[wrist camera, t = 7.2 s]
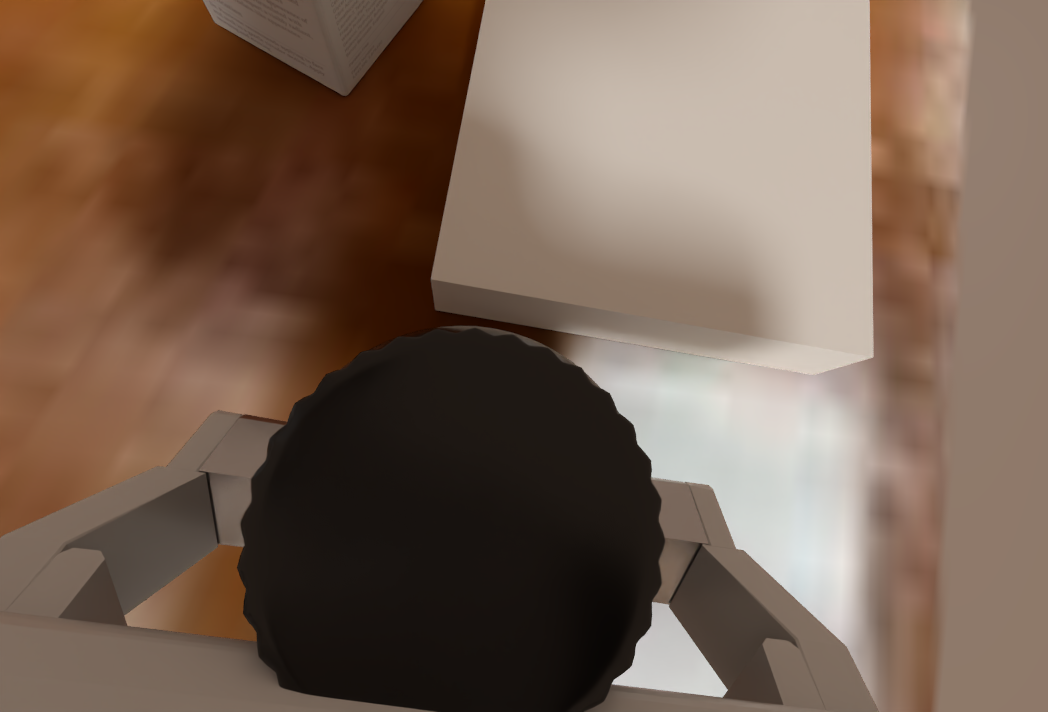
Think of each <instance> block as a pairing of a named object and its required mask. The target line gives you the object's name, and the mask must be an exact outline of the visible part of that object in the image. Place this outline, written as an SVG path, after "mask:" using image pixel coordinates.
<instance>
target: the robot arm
mask: <svg viewBox="0 0 1048 712" xmlns="http://www.w3.org/2000/svg"><path fill="white" fill-rule="evenodd" d="M286 424H287V422H286V421H280V420H274V419H269V418H263V417H257V416H252V415H246V414H245V415H242V414H237V413H232V412H226V411H220V410H218V411H216V412H213V413H212V414H210V415H209V417H208V418H207V419H206V420H205V421H204V422H203V424H202V425H201V426H200V427H199V428H198V430H197V431H196V432H195V433H194V434H193V436H192V437H191V438H190V439H189V440H188V441H187V443H186V444H185V445H184V446H183V447H182V449H181V450H180V451H179V452H178V453H177V455H176V456H175V457H174V458H173V459H172V460H171V462H170V463H169V464H168V465H167V466H166V467H161V466H157V467H154V468H152V469H150V470H148V471H146V472H143V473H141V474H139V475H137V476H134V477H132V478H130V479H128V480H126V481H123V482H121V483H119V484H117V485H114V486H112V487H110V488H108V489H106V490H103V491H101V492H99V493H97V494H94V495H92V496H90V497H88V498H86V499H83V500H81V501H79V502H77V503H74V504H72V505H70V506H68V507H66V508H63V509H61V510H59V511H57V512H54V513H52V514H50V515H48V516H46V517H43V518H41V519H39V520H37V521H34V522H32V523H30V524H28V525H26V526H23V527H21V528H19V529H17V530H14V531H12V532H10V533H8V534H6V535H3V536H2V537H1V538H0V712H434V711H427V710H419V709H411V708H403V707H396V706H388V705H380V704H372V703H365V702H357V701H349V700H342V699H334V698H327V697H319V696H313V695H307V694H303V693H298V692H295V691H290V690H287V689H283V688H281V687H280V686H279V683H278V679H277V675H276V672H275V671H273V670H272V669H271V668H270V667H268V666H267V665H266V664H265V663H264V662H263V661H262V660H261V659H260V658H259V657H258V649H257V642H255V641H247V640H239V639H230V638H222V637H214V636H205V635H197V634H189V633H180V632H172V631H164V630H156V629H147V628H139V627H131V626H127V623H126V620H125V617H124V615H126V614H127V613H128V612H130V611H131V610H132V609H134V608H135V607H137V606H138V605H139V604H141V603H142V602H143V601H145V600H146V599H147V598H149V597H150V596H152V595H153V594H154V593H156V592H157V591H158V590H160V589H161V588H162V587H164V586H165V585H167V584H168V583H169V582H171V581H172V580H173V579H175V578H176V577H177V576H179V575H180V574H181V573H183V572H184V571H186V570H187V569H188V568H190V567H191V566H192V565H194V564H195V563H196V562H198V561H199V560H201V559H202V558H203V557H205V556H206V555H207V554H209V553H210V552H211V551H213V550H214V549H216V548H217V547H218V544H221V545H231V546H240V547H244V538H243V536H242V533H241V526H240V521H241V519H242V517H243V515H244V513H245V511H246V509H247V508H248V506H249V504H250V503H251V497H252V495H251V478H252V477H253V475H254V474H255V472H256V471H257V470H258V468H259V467H260V466H261V465H262V464H263V463H264V462H265V461H266V457H267V447H268V442H269V438H270V437H271V436H272V435H273V434H275V433H276V432H277V431H278V430H279V429H280V428H282V427H283V426H284V425H286ZM651 481H652V483H653V485H654V486H655V488H656V489H657V491H658V493H659V495H660V497H661V499H662V504H661V511H660V514H659V523H660V525H661V528H662V530H663V534H664V537H665V540H666V542H665V545H664V549H663V552H662V555H661V557H660V560H659V565H660V570H661V577H662V585H661V587H660V589H659V591H658V593H657V595H656V596H655V597H654V599H653V601H652V602H657V603H663V604H669V607H670V609H671V610H672V612H673V613H674V614H675V616H676V617H677V619H678V620H679V622H680V623H681V624H682V626H683V627H684V629H685V630H686V631H687V633H688V634H689V636H690V637H691V638H692V640H693V641H694V643H695V644H696V646H697V647H698V648H699V650H700V651H701V653H702V654H703V655H704V657H705V658H706V660H707V661H708V662H709V664H710V665H711V667H712V668H713V670H714V671H715V672H716V674H717V675H718V677H719V678H720V679H721V681H722V682H723V684H724V685H725V686H726V688H727V689H728V691H727V692H726V694H725V695H724V696H723V698H721V697H712V696H704V695H696V694H688V693H679V692H671V691H663V690H655V689H646V688H638V687H629V686H621V685H612V684H611V687H610V690H609V693H608V695H607V697H606V699H605V701H604V702H602V703H601V704H599V705H597V706H596V707H594V708H591V709H589V710H587V711H584V712H879V711H878V709H877V707H876V705H875V703H874V701H873V699H872V697H871V695H870V693H869V691H868V689H867V687H866V685H865V683H864V681H863V679H862V677H861V675H860V673H859V671H858V669H857V667H856V665H855V663H854V661H853V659H852V657H851V655H850V653H849V651H848V649H847V647H846V646H845V645H844V644H843V643H842V642H841V641H840V640H839V639H838V638H837V637H836V636H834V635H833V634H832V633H831V632H830V631H829V630H828V629H827V628H826V627H825V626H824V625H823V624H822V623H821V622H819V621H818V620H817V619H816V618H815V617H814V616H813V615H812V614H811V613H810V612H809V611H808V610H807V609H806V608H805V607H803V606H802V605H801V604H800V603H799V602H798V601H797V600H796V599H795V598H794V597H793V596H792V595H791V594H790V593H788V592H787V591H786V590H785V589H784V588H783V587H782V586H781V585H780V584H779V583H778V582H777V581H776V580H775V579H774V578H772V577H771V576H770V575H769V574H768V573H767V572H766V571H765V570H764V569H763V568H762V567H761V566H760V565H759V564H757V563H756V562H755V561H754V560H753V559H752V558H751V557H750V556H749V555H748V554H747V553H746V552H745V551H744V550H738V549H736V547H735V545H734V542H733V539H732V537H731V534H730V532H729V529H728V527H727V524H726V522H725V519H724V516H723V514H722V511H721V509H720V506H719V504H718V501H717V499H716V496H715V494H714V491H713V489H712V488H711V487H710V486H709V485H704V484H696V483H689V482H685V483H684V482H679V481H673V480H666V479H659V478H652V477H651Z"/></svg>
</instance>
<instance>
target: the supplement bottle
mask: <svg viewBox="0 0 1048 712" xmlns="http://www.w3.org/2000/svg"><path fill="white" fill-rule="evenodd" d="M651 472H652V468H651V460H650V459H649V457H648V456H647V455H646V454H645V452H644V451H643V450H642V449H641V448H640V447H639V446H638V445H637V441H636V433H635V429H634V425H633V424H632V423H631V422H630V421H628V420H627V419H626V418H625V417H623V416H622V415H621V414H619V412H618V411H617V409H616V406H615V404H614V401H613V399H612V397H611V395H610V393H608V392H606V391H605V390H603V389H601V388H600V387H599V386H598V385H597V384H596V383H595V382H594V381H593V380H592V379H591V378H590V377H589V376H588V375H587V374H586V373H585V372H584V371H583V369H582V368H581V367H578V366H576V365H575V364H574V363H573V362H571V361H570V360H568V359H567V358H566V357H564V356H563V355H561V354H560V353H558V352H556V351H554V350H553V349H551V348H549V347H547V346H545V345H544V344H541V343H539V342H537V341H534V340H532V339H530V338H527V337H524V336H521V335H518V334H515V333H512V332H508V331H503V330H499V329H495V328H487V327H479V326H446V327H437V328H431V329H424V330H420V331H416V332H412V333H409V334H405V335H402V336H400V337H397V338H394V339H391V340H389V341H387V342H384V343H382V344H380V345H378V346H376V347H374V348H372V349H370V350H368V351H363V352H360V353H359V354H358V355H357V356H356V357H355V358H354V359H353V360H352V361H351V362H350V363H348V364H347V365H345V366H344V367H343V368H341V369H340V370H336V371H333V372H331V373H328V374H326V375H325V377H324V378H323V379H322V381H321V382H320V384H319V385H318V387H317V389H316V391H315V392H314V393H313V394H311V395H309V396H307V397H304V398H302V399H301V400H299V401H298V402H296V403H295V404H294V406H293V409H292V411H291V413H290V416H289V419H288V422H287V424H286V425H284V426H283V427H282V428H280V429H279V430H278V431H277V432H276V433H275V434H273V435H272V436H271V437H270V438H269V442H268V447H267V457H266V461H265V462H264V463H263V464H262V465H261V466H260V467H259V468H258V470H257V471H256V472H255V474H254V475H253V477H252V478H251V495H252V497H251V503H250V504H249V506H248V508H247V509H246V511H245V513H244V515H243V517H242V519H241V521H240V526H241V533H242V536H243V538H244V548H243V550H242V553H241V555H240V559H239V563H238V566H237V569H238V572H239V575H240V577H241V580H242V582H243V584H244V586H245V588H246V593H245V599H244V609H243V614H244V616H245V617H246V619H247V620H248V622H249V623H250V624H251V625H252V626H253V628H254V629H255V631H256V632H257V649H258V657H259V658H260V659H261V660H262V661H263V662H264V663H265V664H266V665H267V666H268V667H270V668H271V669H272V670H273V671H275V672H276V675H277V679H278V683H279V686H280V687H281V688H283V689H287V690H290V691H295V692H298V693H303V694H307V695H313V696H319V697H327V698H334V699H342V700H349V701H357V702H365V703H372V704H380V705H388V706H396V707H403V708H411V709H419V710H427V711H434V712H584V711H587V710H589V709H591V708H594V707H596V706H597V705H599V704H601V703H602V702H604V701H605V699H606V697H607V695H608V693H609V690H610V687H611V684H612V682H613V680H614V679H615V678H617V677H618V676H620V675H621V674H623V673H624V672H625V671H626V670H627V669H629V668H630V667H631V666H632V663H633V659H634V656H635V647H636V644H637V642H638V641H639V639H640V638H641V637H642V636H644V635H645V634H646V632H647V631H648V629H649V628H650V627H651V620H652V601H653V599H654V597H655V596H656V595H657V593H658V591H659V589H660V587H661V585H662V577H661V570H660V565H659V560H660V557H661V555H662V552H663V549H664V545H665V542H666V540H665V537H664V534H663V530H662V528H661V525H660V523H659V514H660V511H661V504H662V499H661V497H660V495H659V493H658V491H657V489H656V488H655V486H654V485H653V483H652V481H651Z"/></svg>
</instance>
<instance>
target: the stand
mask: <svg viewBox="0 0 1048 712" xmlns="http://www.w3.org/2000/svg"><path fill="white" fill-rule="evenodd" d="M431 285H432V292H433V299H434V305H435V310H438V311H444V312H449V313H455V314H461V315H467V316H473V317H478V318H484V319H490V320H496V321H502V322H508V323H513V324H519V325H525V326H531V327H537V328H542V329H548V330H554V331H560V332H566V333H571V334H577V335H583V336H589V337H595V338H600V339H606V340H612V341H618V342H624V343H630V344H635V345H641V346H647V347H653V348H659V349H664V350H670V351H676V352H682V353H688V354H693V355H699V356H705V357H711V358H717V359H722V360H728V361H734V362H740V363H746V364H752V365H757V366H763V367H769V368H775V369H781V370H786V371H792V372H798V373H804V374H810V375H815V374H819V373H822V372H825V371H829V370H832V369H836V368H839V367H842V366H846V365H849V364H852V363H856V362H859V361H863V360H866V359H869V358H873V276H872V186H871V96H870V5H869V0H486V1H485V6H484V11H483V16H482V21H481V26H480V32H479V37H478V42H477V47H476V52H475V57H474V62H473V67H472V72H471V77H470V82H469V87H468V92H467V97H466V103H465V108H464V113H463V118H462V123H461V128H460V133H459V138H458V143H457V148H456V153H455V158H454V163H453V168H452V173H451V179H450V184H449V189H448V194H447V199H446V204H445V209H444V214H443V219H442V224H441V229H440V234H439V239H438V244H437V250H436V255H435V260H434V265H433V270H432V275H431Z"/></svg>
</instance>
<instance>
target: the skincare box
mask: <svg viewBox="0 0 1048 712" xmlns="http://www.w3.org/2000/svg"><path fill="white" fill-rule="evenodd" d="M422 1H423V0H203V2H204V4H205V5H206V7H207V9H208V11H209V13H210V15H211V17H212V19H213V21H214V22H215V23H216V24H218V25H220V26H221V27H223V28H225V29H227V30H228V31H230V32H232V33H234V34H235V35H237V36H239V37H241V38H242V39H244V40H246V41H248V42H249V43H251V44H253V45H255V46H256V47H258V48H260V49H262V50H263V51H265V52H267V53H269V54H270V55H272V56H274V57H276V58H277V59H279V60H281V61H283V62H284V63H286V64H288V65H290V66H291V67H293V68H295V69H297V70H298V71H300V72H302V73H304V74H306V75H307V76H309V77H311V78H313V79H315V80H316V81H318V82H320V83H322V84H323V85H325V86H327V87H329V88H330V89H332V90H334V91H336V92H338V93H339V94H341V95H343V96H347V95H348V94H349V93H350V92H351V91H352V89H353V88H354V87H355V86H356V85H357V83H358V82H359V81H360V80H361V78H362V77H363V76H364V75H365V73H366V72H367V71H368V69H369V68H370V67H371V66H372V64H373V63H374V62H375V61H376V59H377V58H378V57H379V56H380V54H381V53H382V52H383V50H384V49H385V48H386V47H387V45H388V44H389V43H390V42H391V40H392V39H393V38H394V37H395V35H396V34H397V33H398V32H399V30H400V29H401V28H402V27H403V25H404V24H405V23H406V22H407V20H408V19H409V18H410V17H411V15H412V14H413V13H414V12H415V10H416V9H417V8H418V7H419V5H420V4H421V2H422Z"/></svg>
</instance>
